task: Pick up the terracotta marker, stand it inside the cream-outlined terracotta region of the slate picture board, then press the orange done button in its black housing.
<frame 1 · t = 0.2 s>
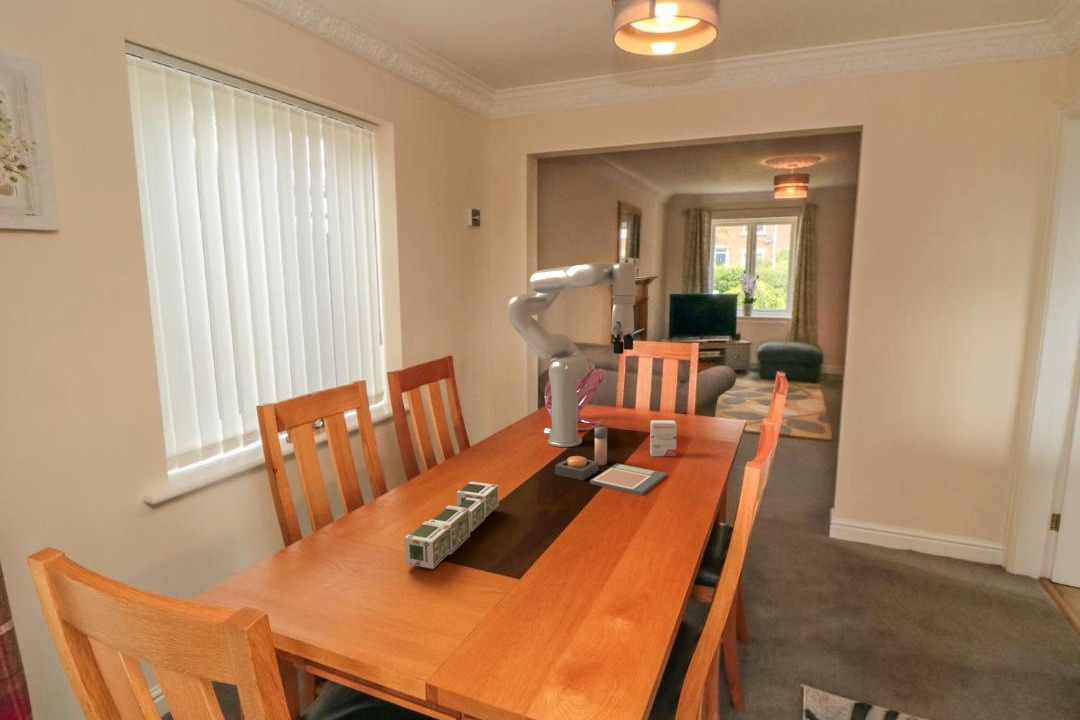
hand: (623, 351, 200), 36 cm above the table, tool pointing down, fingers open, 9 cm apart
row of white-green cartons: (454, 537, 146), on the table
button housing: (577, 472, 188), on the table
ink box: (662, 455, 205), on the table
picture board: (628, 479, 181), on the table
spiral basket: (575, 426, 241), on the table
done button: (577, 462, 188), point 3 cm above the table, slide at 0.0 cm
marker: (600, 463, 197), on the table
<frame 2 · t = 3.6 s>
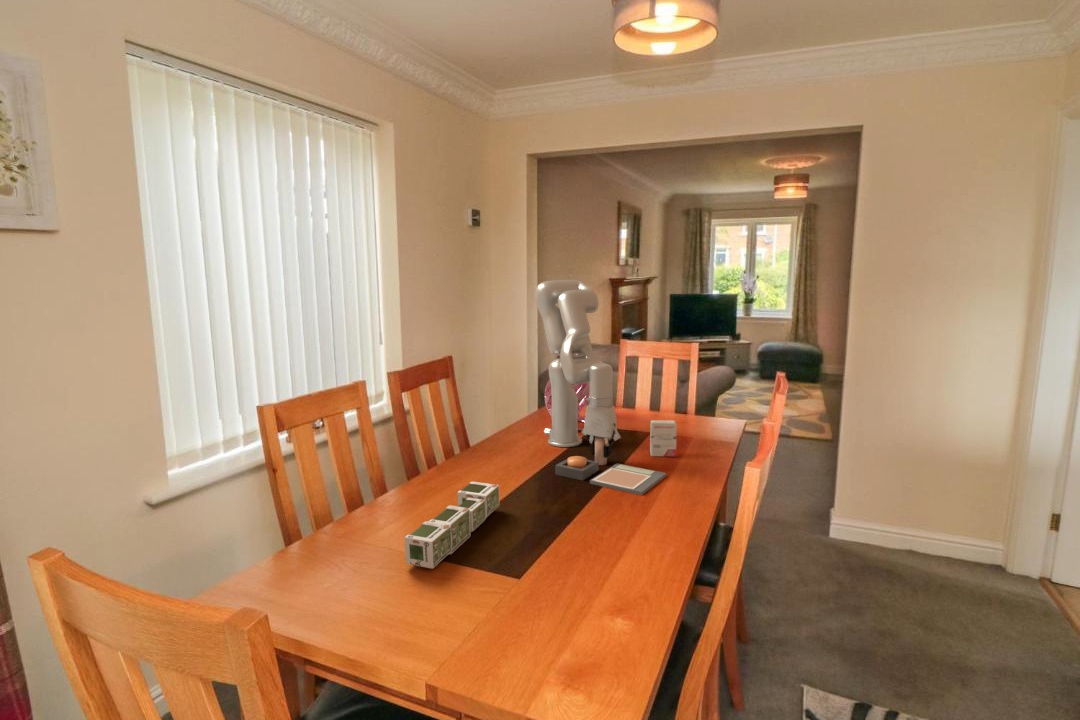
hand: (600, 454, 196), 3 cm above the table, tool pointing down, fingers closed on marker, 4 cm apart
marker: (600, 463, 197), on the table, touching gripper
everything else where it was.
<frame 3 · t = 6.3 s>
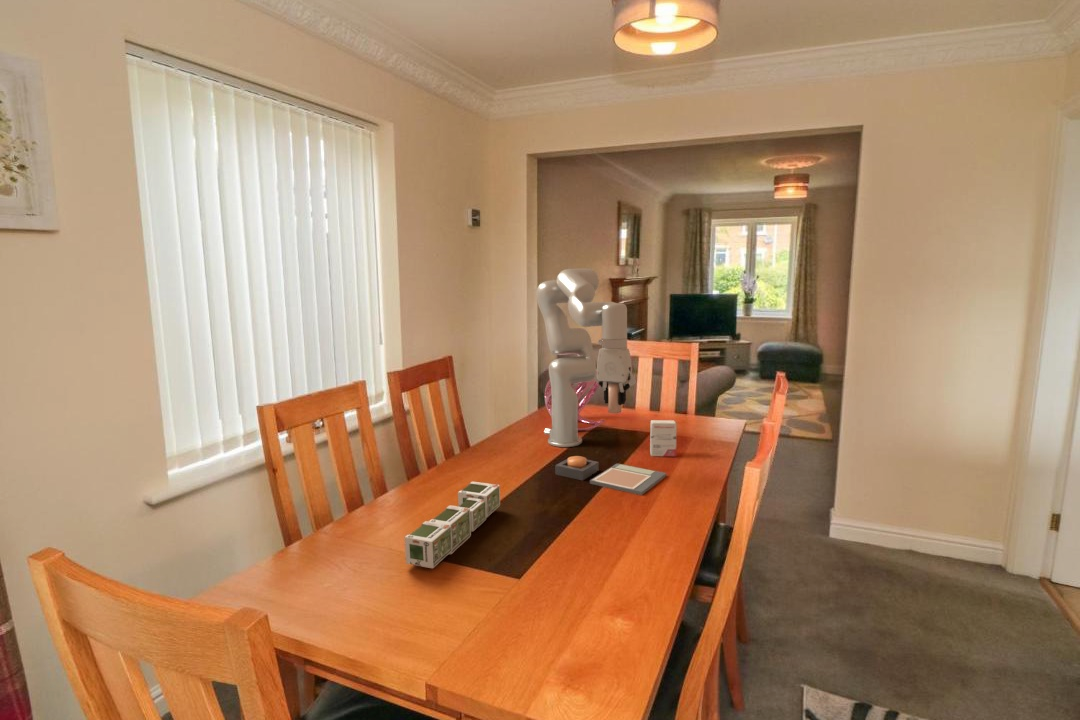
hand: (614, 402, 182), 23 cm above the table, tool pointing down, fingers closed on marker, 4 cm apart
marker: (614, 411, 182), point 20 cm above the table, touching gripper
everything else where it was.
when the fingers open (5 cm above the table, at t = 8.9 s): marker drops 1 cm, resting on picture board.
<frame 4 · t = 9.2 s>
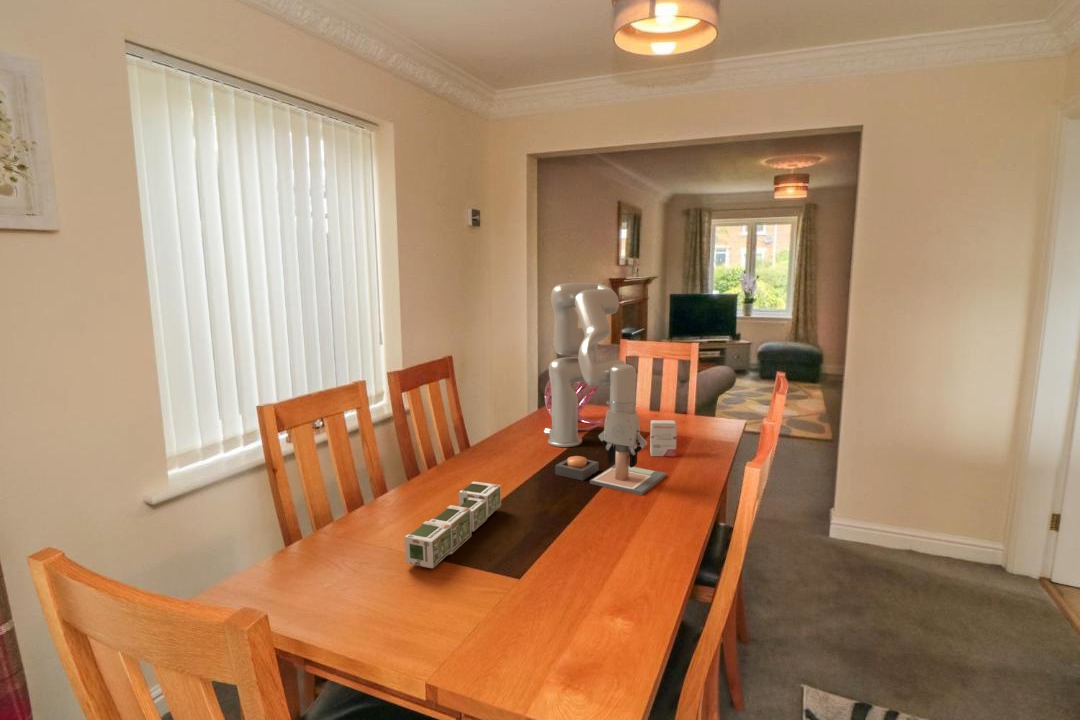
hand: (622, 463, 179), 6 cm above the table, tool pointing down, fingers open, 6 cm apart
marker: (621, 478, 180), point 1 cm above the table, touching picture board
everything else where it was.
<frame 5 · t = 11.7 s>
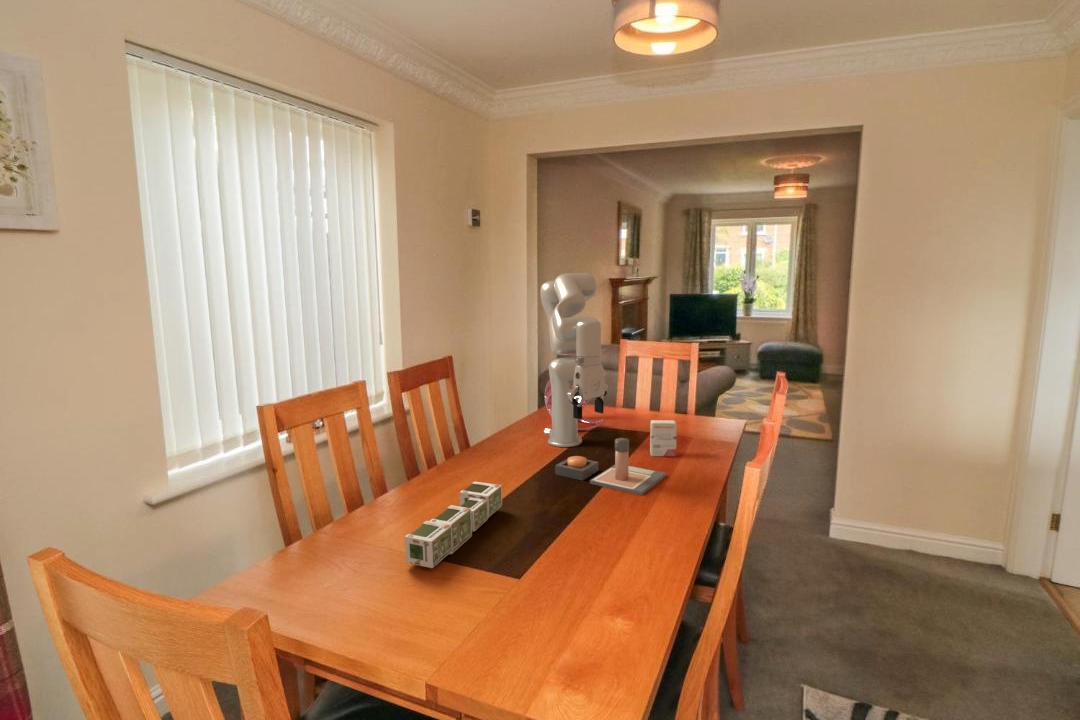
hand: (588, 415, 183), 19 cm above the table, tool pointing down, fingers open, 9 cm apart
nothing on the table moved.
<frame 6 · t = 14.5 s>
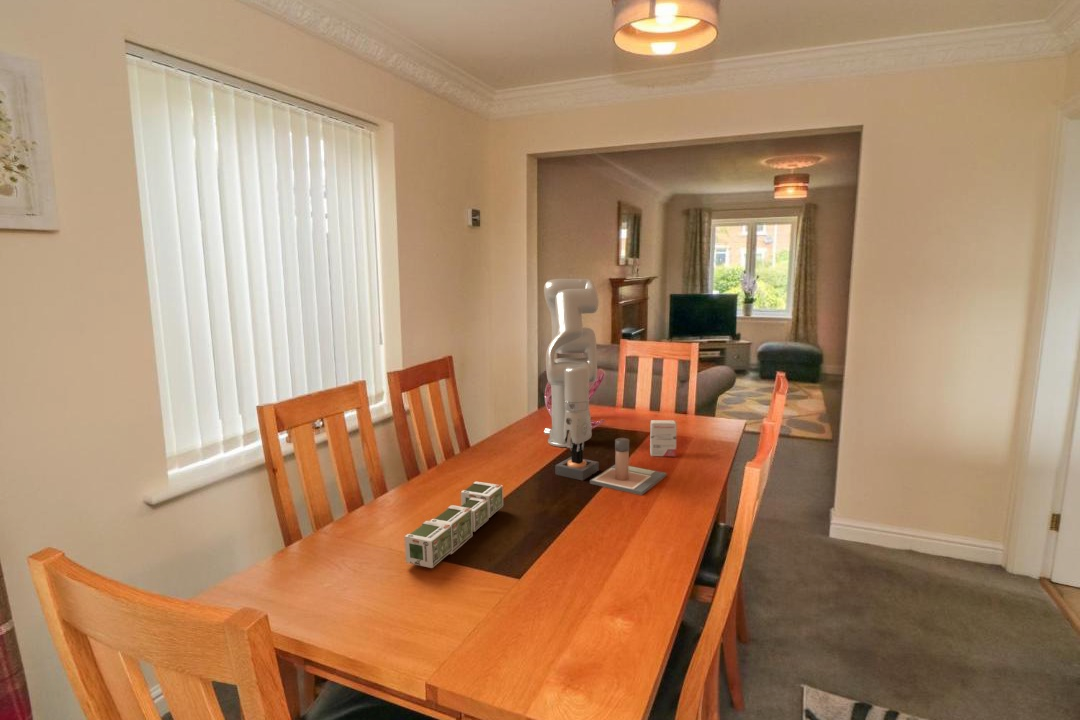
hand: (577, 462, 187), 4 cm above the table, tool pointing down, fingers closed
done button: (577, 465, 188), point 2 cm above the table, slide at 1.0 cm, touching gripper
everything else where it was.
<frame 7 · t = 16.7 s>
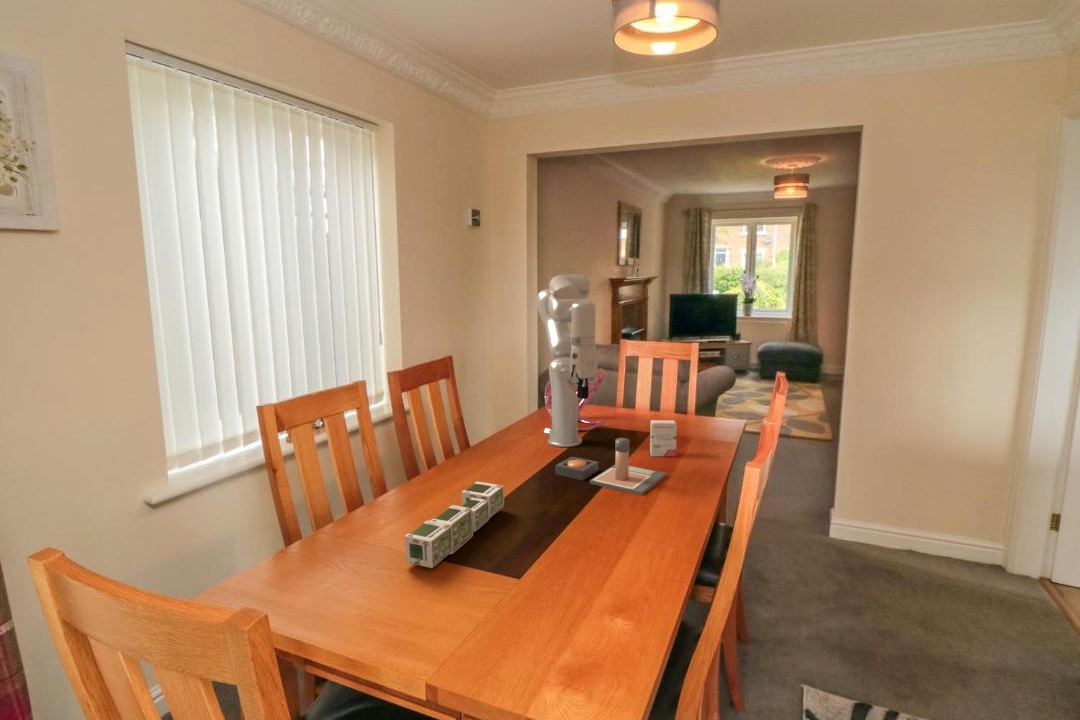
hand: (582, 397, 190), 23 cm above the table, tool pointing down, fingers closed
done button: (577, 466, 188), point 2 cm above the table, slide at 1.2 cm
everything else where it was.
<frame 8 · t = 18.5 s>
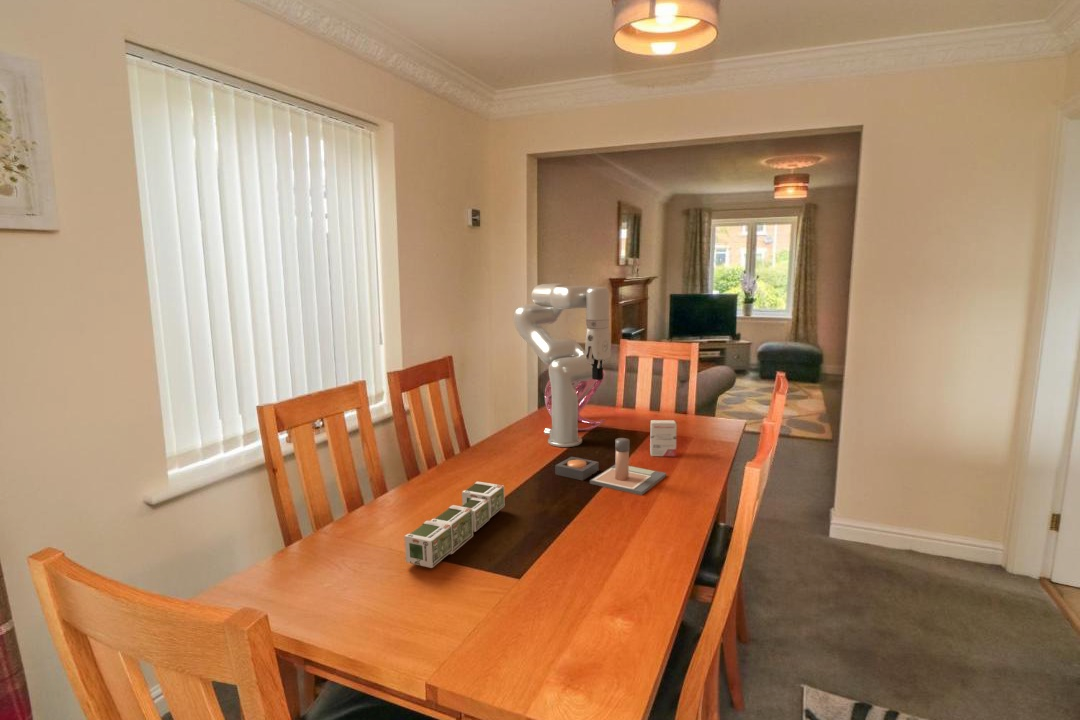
hand: (597, 379, 199), 27 cm above the table, tool pointing down, fingers closed
nothing on the table moved.
at the end: marker 0.0 cm from the target spot on the picture board, point 1.1 cm above the picture board's base; marker tilted 0°; done button slide at 1.2 cm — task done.
